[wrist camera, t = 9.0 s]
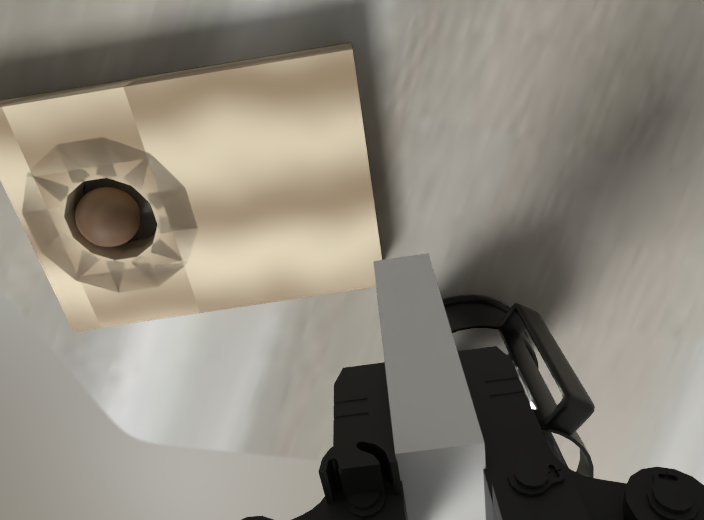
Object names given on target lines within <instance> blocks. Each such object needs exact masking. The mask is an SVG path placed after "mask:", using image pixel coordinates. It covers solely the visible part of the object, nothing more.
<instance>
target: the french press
mask: <svg viewBox="0 0 704 520" xmlns="http://www.w3.org/2000/svg"><path fill="white" fill-rule="evenodd" d="M442 301H443V305H444V308H445V311H446V315H447V318H448V321H449V325H450V328H451V332H452V333H454V332H457V331H460V330H465V329H470V328H491V329H498V330H499V332H500V335H501V337H502V339H503V341H504V343H505V345H506V347H507V349H508V352H509V355H508V357H509V358H510V359H511V360H512V362H513V364H514V366H515V369H516V371H517V373H518V376H519V380H520V381H521V383H522V385H523V388H524V390H525V394H526V395H527V397H528V399H529V402H530V404H531V406H532V409H533V411H534V414H535V416H536V418H537V421H538V423H539V425H540V428H541V430H542V432H543V435H544V437H545V440H546V442H547V444H548V447H549V448H550V450H551V452H552V453H553V455H554V456H555V457H556V458H557V459H558V460H559V461H560V462H562V463H563V465H565V466H566V467H568V466H567V464H566V462H565V460H564V458H563V456H562V454H561V452H560V449H559V447H558V445H557V443H556V441H555V439H554V437H553V435H552V433H551V432H553V433H556V434H560V435H562V436H563V437H565V438H567V439H569V440H571V441H572V442H574V443H575V444H576V445H577V446H578V447H579V448H580V462H579V465H578V469H577V471H576V472H577V473H579V474H581V475H583V476H587V477H591V478H593V464H592V461H591V457H590V455H589V453H588V451H587V450H586V448H585V446H584V444H583V442H582V440H581V438H580V437H579V435H578V434H577V432H576V430H577V429H578V428H579V427H580V426H581V425H582V424H583V423H584V422H585V421H586V420H587V419H588V418H589V417H590V416H591V414H592V413H593V412H594V408H595V407H594V404H593V402H592V401H591V399H590V397H589V396H588V394H587V392H586V391H585V389H584V387H583V386H582V384H581V382H580V381H579V379H578V377H577V376H576V374H575V373H574V371H573V369H572V368H571V366H570V364H569V363H568V361H567V359H566V358H565V356H564V354H563V353H562V351H561V349H560V348H559V346H558V344H557V343H556V341H555V339H554V338H553V336H552V335H551V333H550V331H549V330H548V328H547V326H546V325H545V323H544V321H543V320H542V318H541V316H540V315H539V314H538V313H537V312H535V311H533V310H531V309H529V308H527V307H525V306H523V305H520V304H517V303H515V304H514V305H513V306H512V307H511V308H509V307H508V306H506V305H504V304H503V303H501V302H499V301H497V300H494V299H491V298H488V297H482V296H475V295H470V296H457V297H452V298H448V299H445V300H442ZM526 329H527V331H528V332H529V334H530V336H531V338H532V340H533V342H534V343H535V345H536V347H537V349H538V351H539V352H540V354H541V356H542V358H543V360H544V362H545V363H546V365H547V367H548V369H549V371H550V373H551V374H552V376H553V378H554V380H555V382H556V384H557V385H558V387H559V389H560V391H561V393H562V396H563V398H562V401H561V402H560V403H559V404H558V405H556V403H555V401H554V399H553V397H552V395H551V393H550V391H549V389H548V386H547V384H546V383H545V381H544V380H543V378H542V376H541V374H540V372H539V370H538V361H537V358H536V355H535V352H534V350H533V349H532V347H531V345H530V343H529V341H528V339H527V333H526Z"/></svg>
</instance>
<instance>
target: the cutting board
mask: <svg viewBox="0 0 704 520" xmlns="http://www.w3.org/2000/svg"><path fill="white" fill-rule="evenodd" d="M102 178H109V179H112V180H115V181H118V182H121V183H125V184H128V185H131V186H132V187H133V188H134V189H135V190H137V191H138V192H139V193H140V194H141V195H142V196H143V197H144V198H145V199H146V200H147V201H148V202H149V203H150V204H151V207H152V210H153V213H154V216H155V219H156V221H157V224H158V225H157V229H156V233H155V234H153V235H152V236H151V237H150V238H147V239H141V240H134V241H127V242H126V243H124V244H122V245H119V246H114V247H104V246H99V245H96V244H94V243H92V242H90V241H89V240H87V239H86V238H85V237H84V236H83V235H82V234H81V232H80V231H79V229H78V227H77V224H76V220H75V212H76V207H77V205H78V203H79V201H80V200H81V198H82V192H83V187H84V181H89V180H96V179H102ZM0 180H1V182H2V184H3V187H4V189H5V191H6V193H7V195H8V197H9V199H10V201H11V203H12V205H13V207H14V209H15V211H16V213H17V216H18V218H19V220H20V222H21V224H22V226H23V228H24V230H25V232H26V234H27V236H28V238H29V240H30V242H31V244H32V247H33V249H34V251H35V253H36V255H37V257H38V259H39V261H40V263H41V265H42V267H43V269H44V271H45V273H46V276H47V278H48V280H49V282H50V284H51V286H52V288H53V290H54V292H55V294H56V296H57V298H58V300H59V302H60V304H61V307H62V309H63V311H64V313H65V315H66V317H67V319H68V321H69V323H70V325H71V327H72V329H73V331H74V332H76V331H83V330H89V329H96V328H103V327H109V326H116V325H123V324H129V323H136V322H143V321H149V320H156V319H163V318H169V317H176V316H183V315H189V314H196V313H203V312H210V311H216V310H223V309H230V308H236V307H243V306H250V305H256V304H263V303H270V302H276V301H283V300H290V299H296V298H303V297H310V296H316V295H323V294H330V293H336V292H343V291H350V290H357V289H363V288H370V287H376V280H375V271H374V262H373V261H379V260H382V255H381V248H380V241H379V234H378V227H377V219H376V212H375V205H374V198H373V191H372V184H371V177H370V169H369V162H368V155H367V148H366V141H365V134H364V127H363V119H362V112H361V105H360V98H359V91H358V84H357V77H356V69H355V62H354V55H353V49H352V45H351V43H347V44H340V45H334V46H328V47H322V48H316V49H310V50H304V51H298V52H292V53H286V54H280V55H274V56H268V57H262V58H256V59H250V60H243V61H237V62H231V63H225V64H219V65H213V66H207V67H201V68H195V69H189V70H183V71H177V72H171V73H165V74H159V75H152V76H146V77H140V78H134V79H128V80H122V81H116V82H110V83H104V84H98V85H92V86H86V87H80V88H74V89H68V90H61V91H55V92H49V93H43V94H37V95H31V96H25V97H19V98H13V99H7V100H1V101H0Z"/></svg>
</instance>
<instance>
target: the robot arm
mask: <svg viewBox="0 0 704 520" xmlns="http://www.w3.org/2000/svg"><path fill="white" fill-rule="evenodd" d="M373 262H374V271H375V280H376V289H377V298H378V307H379V316H380V324H381V333H382V342H383V351H384V360H385V362H384V363H377V364H369V365H362V366H354V367H347V368H343V369H342V371H341V373H340V375H339V376H338V378H337V380H336V382H335V384H334V442H333V447H332V448H330V449H329V451H328V452H327V453H326V455H325V456H324V457H323V459H322V461H321V465H320V469H319V475H320V478H321V482H322V486H323V490H324V493H325V497H324V498H323V500H322V501H321V502H320V503H319V504H318V505H317V506H316V507H314V508H313V509H312V510H310V511H309V512H307V513H305V514H303V515H301V516H299V517H297V518H295V519H292V520H704V485H703V484H701V483H700V482H699V481H697V480H696V479H695V478H693V477H692V476H689V475H687V474H684V473H682V472H680V471H677V470H675V469H668V468H662V467H653V468H647V469H641V470H640V471H638V472H637V473H635V474H633V475H632V476H631V477H630V479H629V481H628V483H627V484H625V483H619V482H613V481H607V480H600V479H595V478H591V477H587V476H583V475H581V474H579V473H577V472H574V471H572V470H571V469H569V468H568V467H566V466H565V465H563V463H562V462H560V461H559V460H558V459H557V458H556V457H555V456H554V455H553V453H552V452H551V450H550V448H549V447H548V444H547V442H546V440H545V437H544V435H543V432H542V430H541V428H540V425H539V423H538V421H537V418H536V416H535V414H534V411H533V409H532V406H531V404H530V402H529V399H528V397H527V395H526V394H525V390H524V388H523V385H522V383H521V381H520V380H519V376H518V373H517V371H516V369H515V366H514V364H513V362H512V360H511V359H510V358H509V357H508V356H507V355H506V354H505V353H503V352H502V351H501V350H500V349H499V348H498V347H497V346H495V347H487V348H479V349H472V350H464V351H457V348H456V345H455V342H454V338H453V335H452V332H451V328H450V325H449V321H448V318H447V315H446V311H445V308H444V305H443V301H442V298H441V294H440V291H439V288H438V284H437V281H436V278H435V274H434V271H433V268H432V264H431V261H430V257H429V254H421V255H414V256H407V257H400V258H393V259H386V260H379V261H373ZM242 520H273V519H270V518H266V517H263V516H255V517H247V518H244V519H242Z"/></svg>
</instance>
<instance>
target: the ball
mask: <svg viewBox="0 0 704 520" xmlns="http://www.w3.org/2000/svg"><path fill="white" fill-rule="evenodd" d="M75 220H76V224H77V227H78V229H79V231H80V232H81V234H82V235H83V236H84V237H85V238H86V239H87V240H89V241H90V242H92V243H94V244H96V245H99V246H104V247H114V246H119V245H122V244H124V243H126V242H127V241H129V240H130V239H131V238H132V237H133V236H134V235H135V234H136V232H137V231H138V229H139V226H140V221H141V214H140V210H139V207H138V205H137V203H136V201H135V200H134V199H133V198H132V197H131V196H130V195H129V194H128V193H126V192H125V191H123V190H121V189H118V188H114V187H100V188H96V189H93V190H91V191H90V192H88V193H87V194H85V195H84V196H83V197H82V198H81V200H80V201H79V203H78V205H77V207H76V212H75Z"/></svg>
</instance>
